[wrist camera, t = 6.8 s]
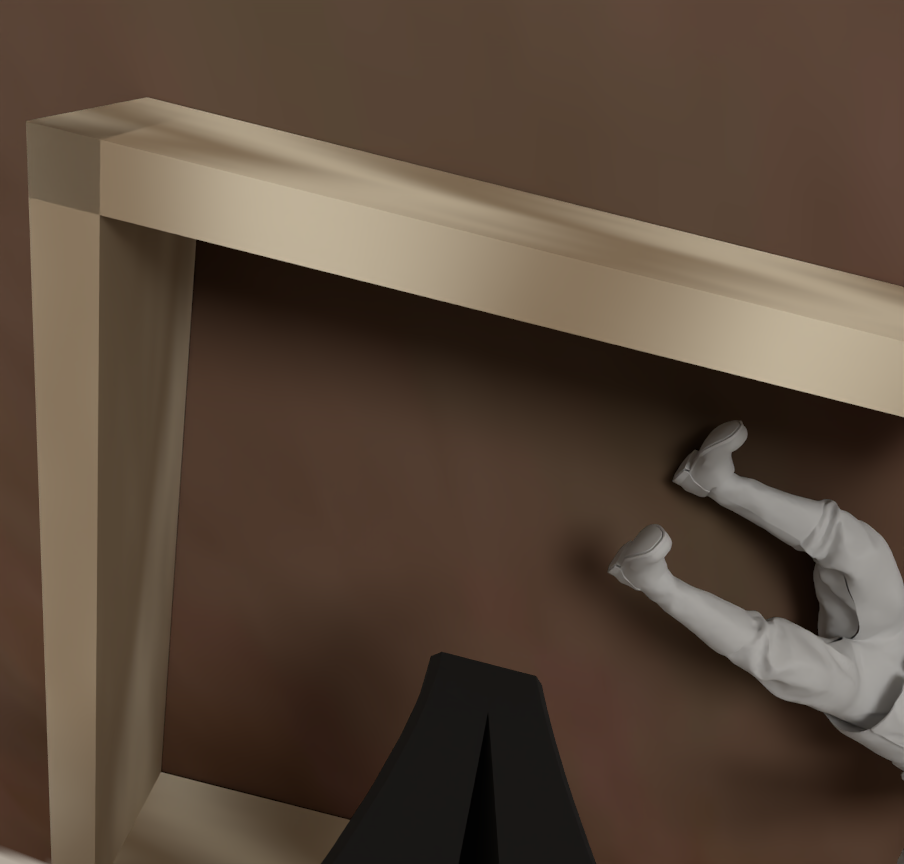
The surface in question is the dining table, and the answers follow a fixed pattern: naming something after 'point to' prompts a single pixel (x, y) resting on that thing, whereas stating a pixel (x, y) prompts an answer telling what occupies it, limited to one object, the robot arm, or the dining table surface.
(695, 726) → the dining table surface
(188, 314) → the beech frame
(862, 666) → the soldier figure
